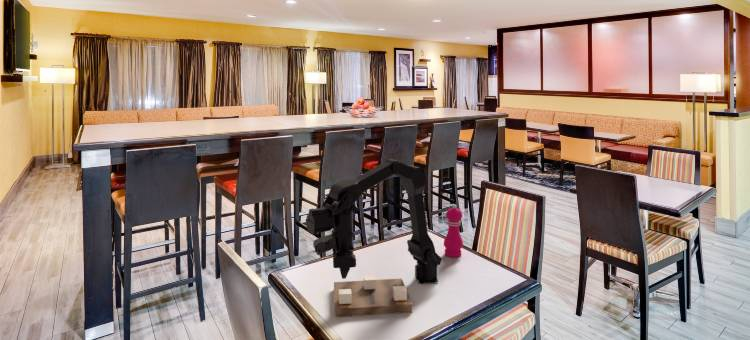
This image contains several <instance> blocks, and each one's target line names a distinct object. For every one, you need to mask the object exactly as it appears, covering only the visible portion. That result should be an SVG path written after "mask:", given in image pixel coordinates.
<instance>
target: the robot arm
mask: <svg viewBox="0 0 750 340" xmlns="http://www.w3.org/2000/svg"><path fill="white" fill-rule="evenodd" d="M394 175H395V176H398V177H399V179H400V182H401V185H402V188H403V189H404V191H405V192H406V194H407V201H408V202H407V203H408V209H409V210H408V211H409V215H410V216H409V217H410V224H411V233H412V236H411V237H410V239H408V240H407V241H406V243H407V251H408V252H409V254H410V255H411V256H412V258H413V260H414V261H416V264H415V265H414V278H415V279H416V281H417V282H418V284H421V285H422V284H438V283H439V280H438V277H437V276H438V266H441V263H442V259H443V258H442V257H441V256H440V254H438V253H437V252H436V248H435V245H434V242H433V240H432V238H431V237H430V235H429V232H428V224H427V217H426V216H427V215H426V209H425V208H426V207H425V201H424V191H425V189H426V186H427V171H426V170H425V169H424V168H423V167H420V166H415V165H412V164H406V163H402V162H401V161H399V160H398V159H393V158H388V159H386V160H385V161H383V162H382V163H381V164H378V165H377V166H374V167H373V168H372V169H371V168H370V170H367V171H365V172H364V173H362V174H361V175H359V176H357V177H355V178H350V179H345V180H341V181H339V182H338V181H337V182H336V183H334V184H332V185H331V186H330V187H329V191H328V192H329V193H328V194H327V195H326V197H325V199H324V200H323V202H322V205H321V207H319V208H310V209H309V210H308V213H307V215H306V219H305V225H306V230H307V231H308V234H310V235H314V234H319V233H326V232H330V231H331V233H330V234H328V235H327V234H326V235H324V236H322V237H321V236H320V237H318V238H316V239H315V240H313V244H312V246H313V249H314V252H315V253H316V255H317V256H320V255H323V254H324V253H327V252H329V251H331V250H332V265H333V268H334V269H339V272H340V277H341V279H342V280H343V279H344V280H345V279H347V276H348V275H349V272H350V270H351V268H356V267H357V257H356V254H355V253H354V249H355V247H354V223H353V221H354V219H353V218H354V217H353V216H354V215H353V213H354V212H359V211H360V208H359V207H358V206H357V205H356V202H357V201H358V200H359V199H360V198H361V196H362V194H364V192H366V191H367V190H368V191H369V190H370V189H371V188H373V187H375V186H377V185H378V184H381V182H383V181H386V179H388V178H391V177H392V176H394ZM334 203H335V204H334Z"/></svg>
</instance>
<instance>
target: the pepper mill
mask: <svg viewBox="0 0 750 340" xmlns="http://www.w3.org/2000/svg"><path fill="white" fill-rule="evenodd" d="M445 216H446V219H447V223H446V224H447V225H448V228H447V230H448V231H447V233H446V236H445V237H444V240H443V246H444V247H445V248H444V255H445V256H446V257H449V258H452V259H453V258H454V257H456V258H460V257H461V256H462V248H463V246H464V241H463V238H462V235H461V234H460V226H461V223H462V222H461V220H462V218H463V212H462V210H461V209H459V208H458V206H457V204H456V203H455V204H454V203H453V204H452V205H451V207H450V208H449V209H447V211H446V213H445Z"/></svg>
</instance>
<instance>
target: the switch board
mask: <svg viewBox="0 0 750 340" xmlns="http://www.w3.org/2000/svg"><path fill="white" fill-rule="evenodd" d="M393 286H405V287H406V285H405V282H404V280H403V278H389V279H388V278H387V279H376V289H364V280H354V281H353V280H351V281H334V282H333V291H334V292H333V295H334V313H335V314H334V316H335V317H334V318H344V317H359V316H376V315H391V314H406V313H407V314H409V313H413V303H412V301H411V297H410V295H409V293H408V292H407V300H399V301H394V298H393ZM340 289H351V293H352V303H350V304H339V290H340Z"/></svg>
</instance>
